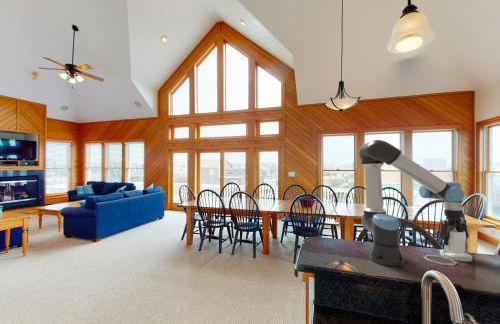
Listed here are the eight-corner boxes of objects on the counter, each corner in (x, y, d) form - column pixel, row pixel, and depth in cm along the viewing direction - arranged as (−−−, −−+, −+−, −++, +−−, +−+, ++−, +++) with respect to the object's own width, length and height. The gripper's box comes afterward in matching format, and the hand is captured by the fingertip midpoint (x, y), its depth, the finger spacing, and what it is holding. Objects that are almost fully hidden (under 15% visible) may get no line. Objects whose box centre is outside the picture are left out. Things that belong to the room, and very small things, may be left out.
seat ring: (433, 264, 110) (433, 262, 110) (419, 255, 122) (419, 254, 122) (462, 266, 107) (462, 265, 107) (445, 257, 119) (445, 255, 119)
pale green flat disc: (449, 260, 115) (449, 257, 115) (434, 251, 128) (434, 248, 128) (479, 262, 112) (478, 259, 113) (460, 253, 125) (460, 250, 125)
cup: (440, 249, 124) (439, 228, 125) (454, 249, 125) (453, 228, 126) (456, 255, 115) (455, 232, 116) (471, 254, 116) (470, 232, 117)
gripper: (443, 210, 116) (445, 253, 115) (477, 210, 119) (479, 252, 118) (430, 208, 124) (431, 249, 123) (462, 208, 127) (463, 247, 125)
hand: (454, 250), depth 120 cm, fingers closed on cup, 8 cm apart
